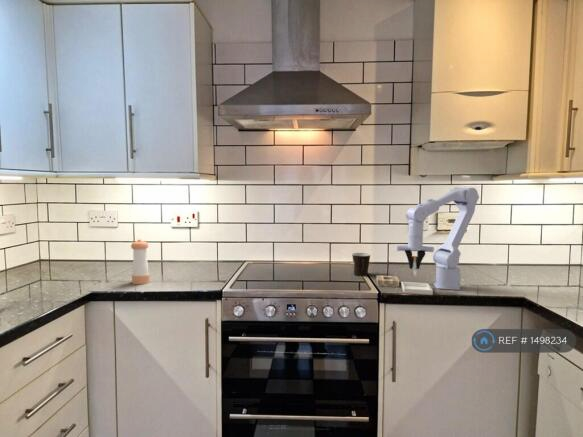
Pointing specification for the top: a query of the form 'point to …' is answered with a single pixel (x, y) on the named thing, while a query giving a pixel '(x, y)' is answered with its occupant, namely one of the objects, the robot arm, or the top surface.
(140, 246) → the pepper shaker
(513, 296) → the top surface
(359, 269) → the coffee mug
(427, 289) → the tray
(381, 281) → the block
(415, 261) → the pin
